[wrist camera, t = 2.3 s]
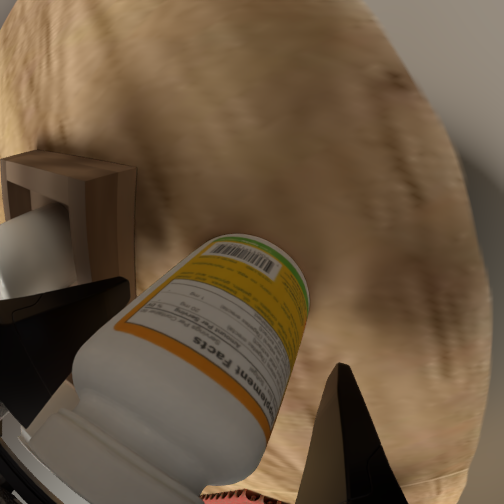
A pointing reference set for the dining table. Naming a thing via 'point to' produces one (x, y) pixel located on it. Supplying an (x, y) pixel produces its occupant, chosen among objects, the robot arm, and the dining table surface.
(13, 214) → the caddy
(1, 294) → the white rounded cylinder
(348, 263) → the dining table surface
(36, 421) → the can
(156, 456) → the supplement bottle
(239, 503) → the red studded mat
